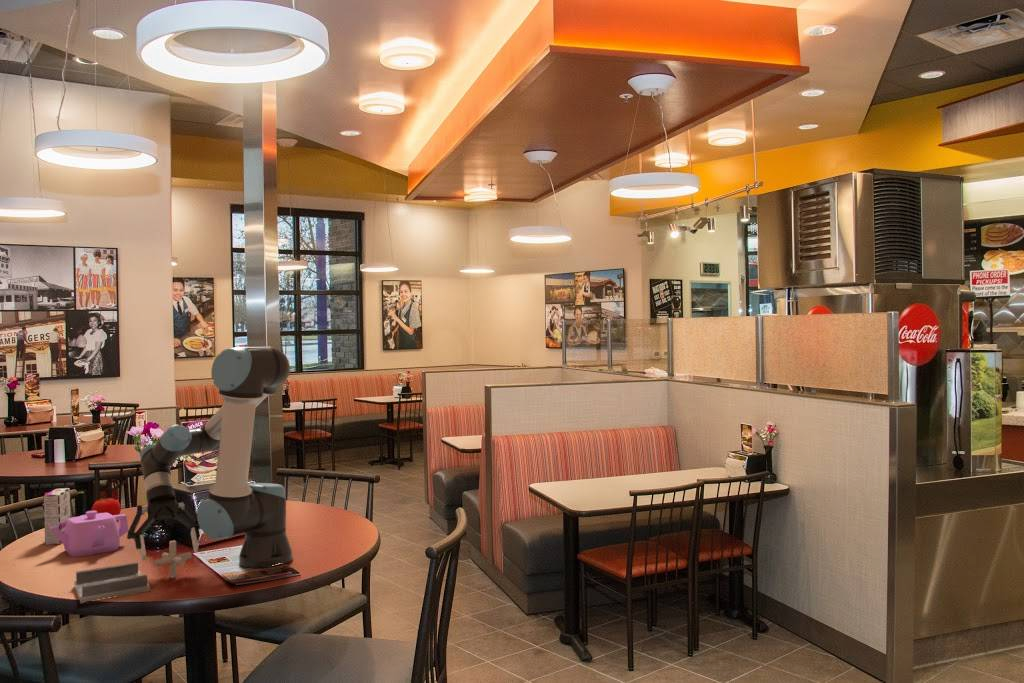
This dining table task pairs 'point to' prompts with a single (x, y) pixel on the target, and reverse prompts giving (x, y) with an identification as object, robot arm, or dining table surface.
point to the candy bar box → (56, 513)
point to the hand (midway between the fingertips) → (170, 553)
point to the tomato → (107, 506)
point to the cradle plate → (133, 591)
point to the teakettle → (92, 533)
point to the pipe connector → (172, 559)
